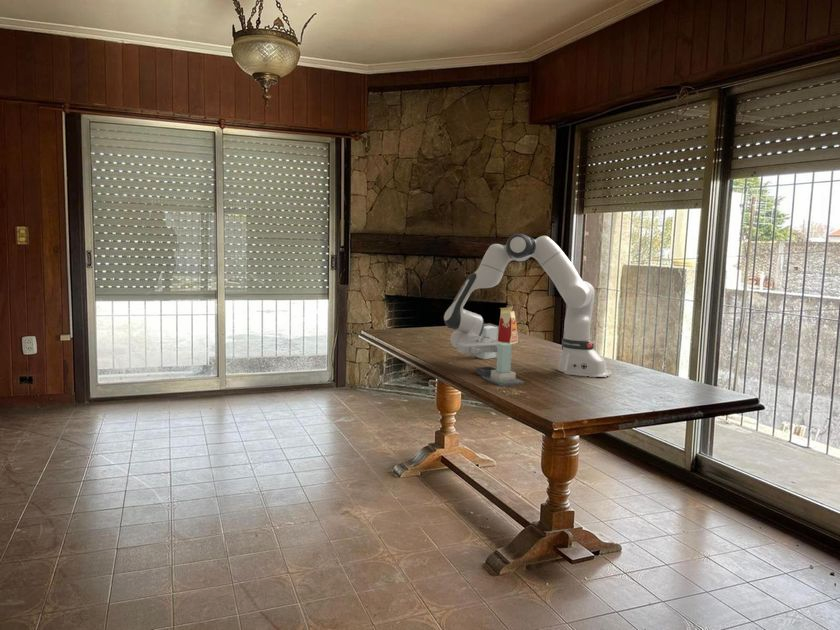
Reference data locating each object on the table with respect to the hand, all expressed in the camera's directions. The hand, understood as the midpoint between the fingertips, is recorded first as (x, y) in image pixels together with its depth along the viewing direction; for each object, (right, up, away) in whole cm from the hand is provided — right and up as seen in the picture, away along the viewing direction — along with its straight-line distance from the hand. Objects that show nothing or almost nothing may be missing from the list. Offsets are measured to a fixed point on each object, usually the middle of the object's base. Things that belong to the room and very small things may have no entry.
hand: (489, 351), depth 263 cm
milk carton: (+18, 0, +81) cm, 83 cm away
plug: (+4, -11, -9) cm, 15 cm away
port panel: (+4, -12, -9) cm, 15 cm away
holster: (0, -10, +2) cm, 10 cm away
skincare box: (+3, -5, +38) cm, 38 cm away
